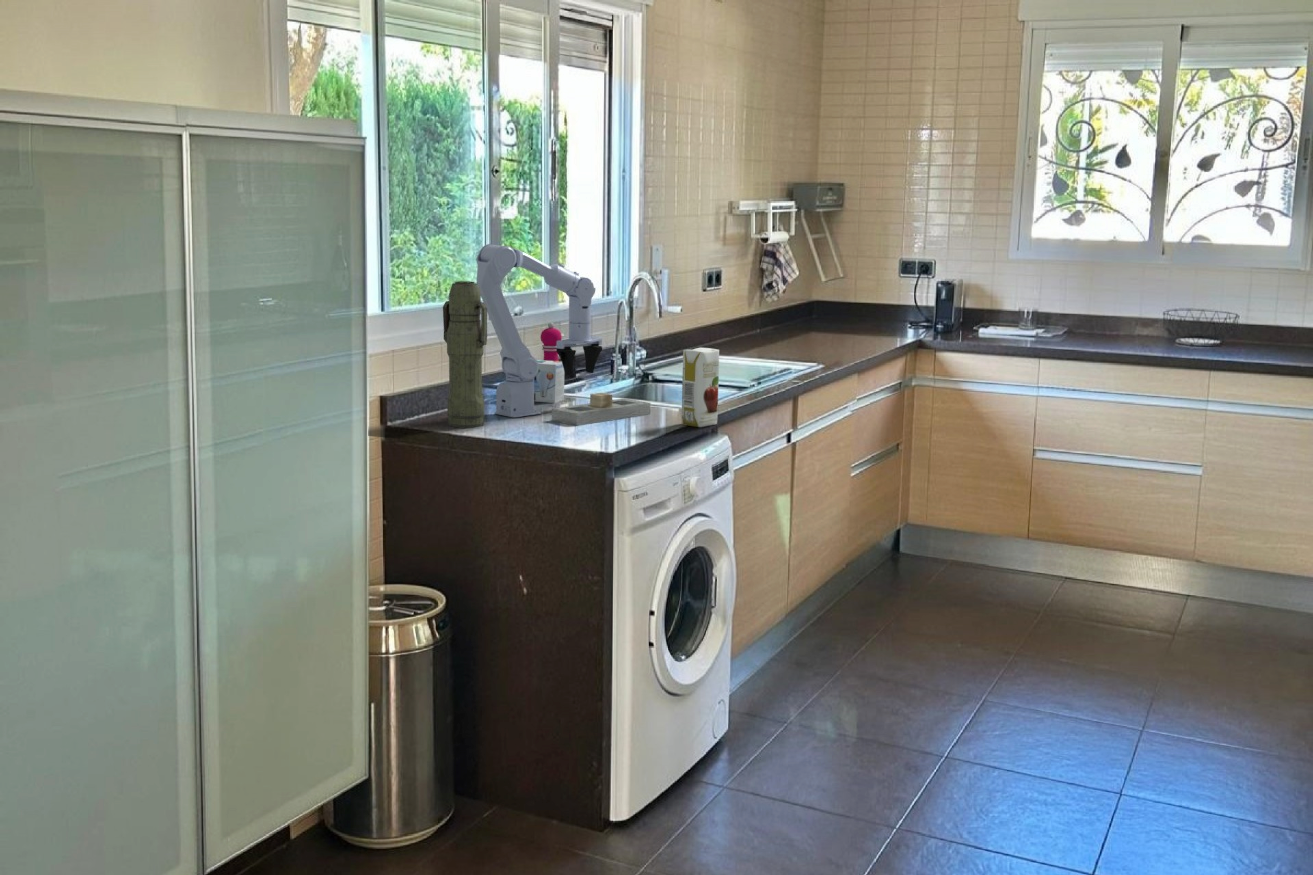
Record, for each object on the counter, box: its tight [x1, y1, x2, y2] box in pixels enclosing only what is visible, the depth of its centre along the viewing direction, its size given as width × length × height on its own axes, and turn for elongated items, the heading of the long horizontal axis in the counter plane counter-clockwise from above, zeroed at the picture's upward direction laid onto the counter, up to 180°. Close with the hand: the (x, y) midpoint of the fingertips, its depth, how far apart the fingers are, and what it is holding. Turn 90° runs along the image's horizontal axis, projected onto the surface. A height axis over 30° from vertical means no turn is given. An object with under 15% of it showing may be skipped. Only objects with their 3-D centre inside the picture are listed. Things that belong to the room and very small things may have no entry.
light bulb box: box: [534, 359, 565, 404], centre depth 360 cm, size 11×7×11 cm, turn 73°
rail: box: [551, 397, 651, 427], centre depth 336 cm, size 26×10×3 cm, turn 136°
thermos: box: [442, 280, 488, 429], centre depth 319 cm, size 9×12×35 cm
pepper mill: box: [540, 322, 563, 361], centre depth 373 cm, size 7×7×20 cm
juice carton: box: [681, 347, 720, 428], centre depth 327 cm, size 8×9×19 cm
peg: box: [589, 392, 613, 408], centre depth 336 cm, size 4×4×6 cm
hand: (579, 373), depth 346 cm, fingers open, 7 cm apart
